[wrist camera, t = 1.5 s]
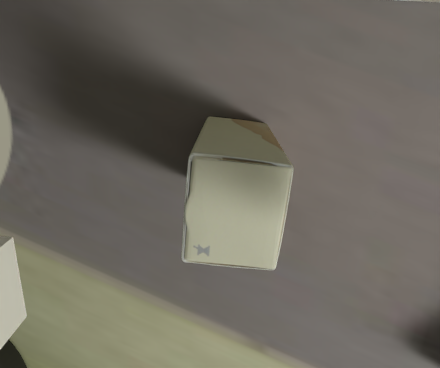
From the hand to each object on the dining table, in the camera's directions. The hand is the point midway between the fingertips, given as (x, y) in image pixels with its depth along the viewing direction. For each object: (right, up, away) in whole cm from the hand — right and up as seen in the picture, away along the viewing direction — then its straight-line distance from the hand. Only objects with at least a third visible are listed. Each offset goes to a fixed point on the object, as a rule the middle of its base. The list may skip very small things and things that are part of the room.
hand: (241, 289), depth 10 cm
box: (0, +5, +15) cm, 16 cm away
